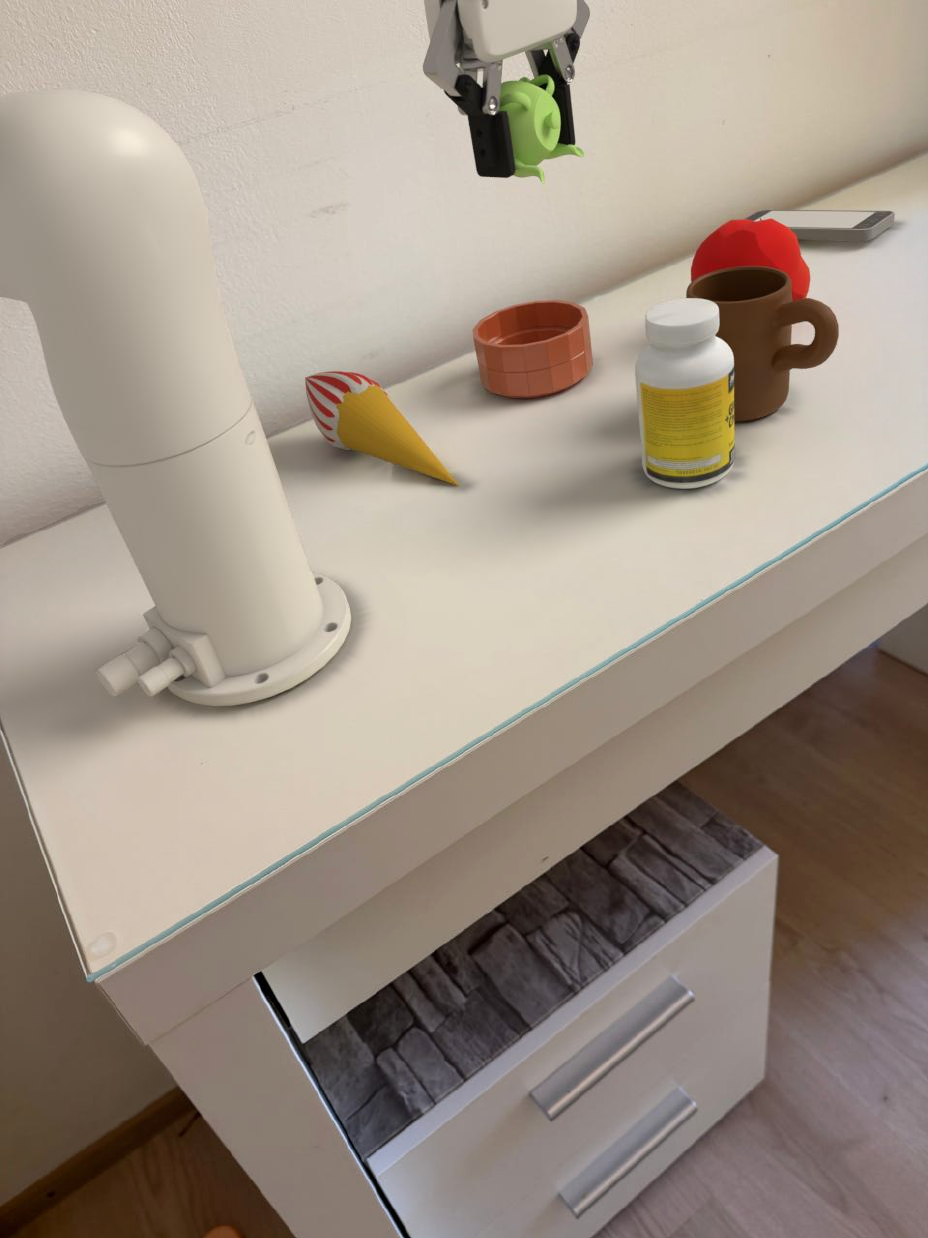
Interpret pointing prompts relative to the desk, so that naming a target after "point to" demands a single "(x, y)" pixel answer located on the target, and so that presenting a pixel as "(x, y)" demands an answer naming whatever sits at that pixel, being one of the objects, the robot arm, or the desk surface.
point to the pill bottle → (685, 395)
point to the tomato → (754, 251)
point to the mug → (764, 333)
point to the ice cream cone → (368, 422)
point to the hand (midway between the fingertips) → (526, 158)
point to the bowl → (533, 348)
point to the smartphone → (830, 223)
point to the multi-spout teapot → (533, 124)
